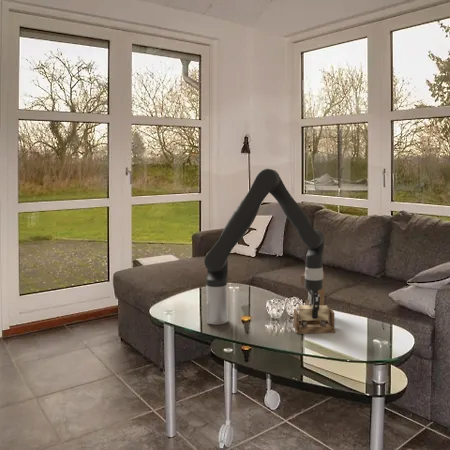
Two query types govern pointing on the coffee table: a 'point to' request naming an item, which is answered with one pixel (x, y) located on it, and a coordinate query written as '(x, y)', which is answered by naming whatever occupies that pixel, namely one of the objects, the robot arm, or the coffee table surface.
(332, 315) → the peg frame
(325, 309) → the plank
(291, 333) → the coffee table surface
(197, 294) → the coffee table surface
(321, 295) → the decorative block
